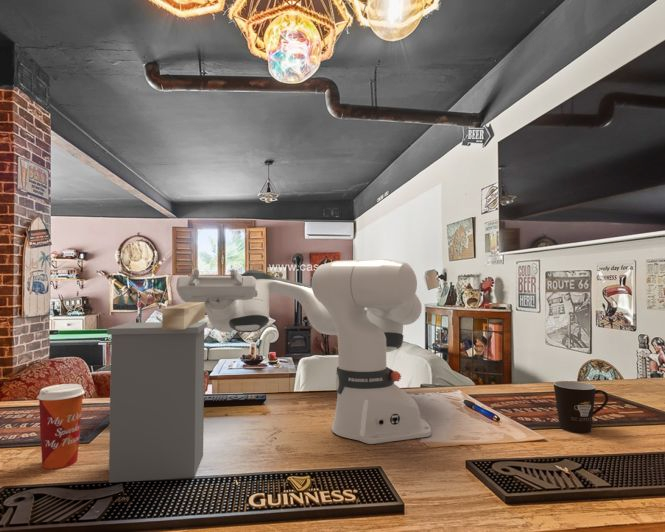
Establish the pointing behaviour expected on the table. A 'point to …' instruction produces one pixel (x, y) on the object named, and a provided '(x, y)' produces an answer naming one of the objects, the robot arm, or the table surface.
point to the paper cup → (60, 424)
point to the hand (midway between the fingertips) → (214, 272)
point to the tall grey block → (156, 401)
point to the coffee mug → (576, 405)
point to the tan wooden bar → (182, 315)
